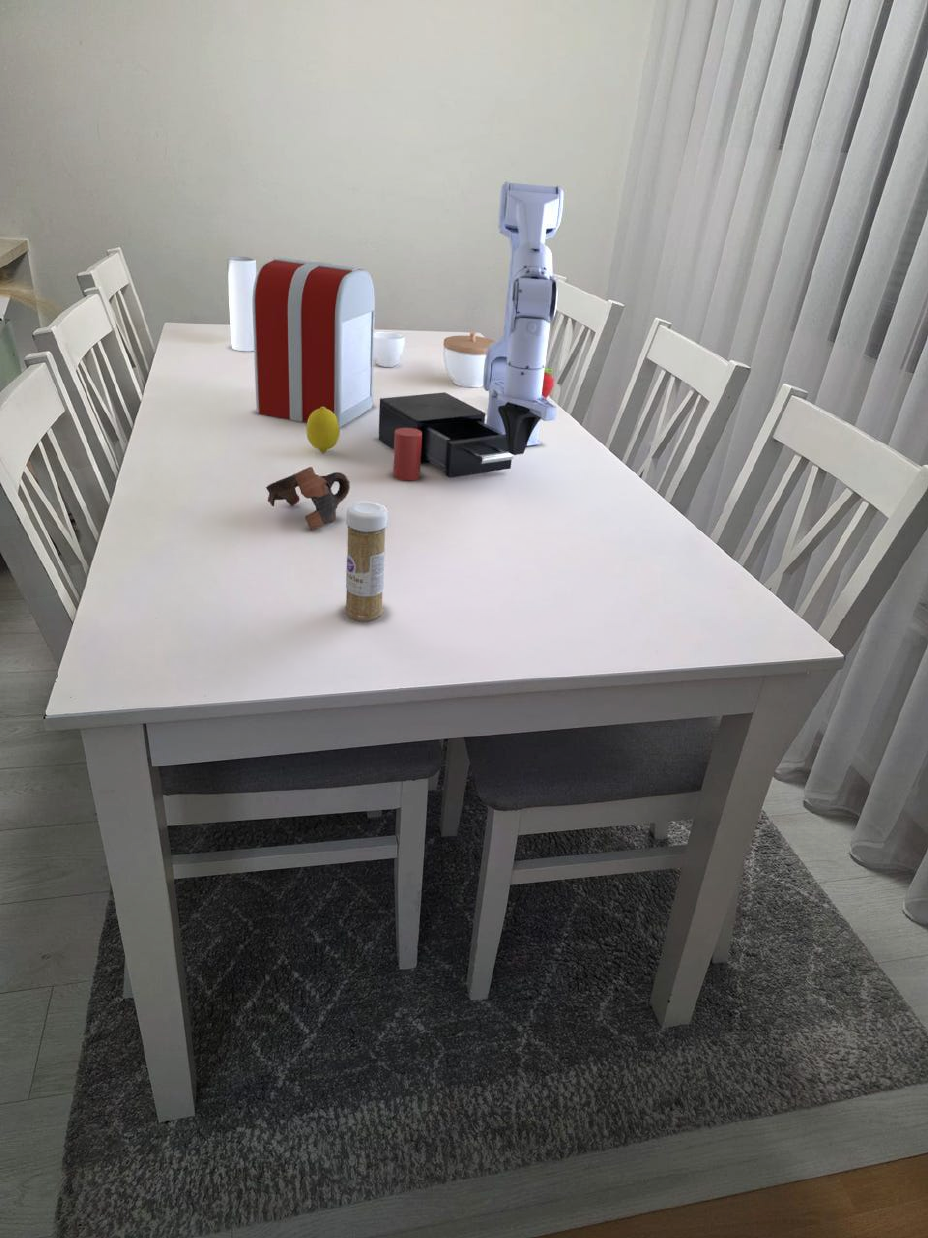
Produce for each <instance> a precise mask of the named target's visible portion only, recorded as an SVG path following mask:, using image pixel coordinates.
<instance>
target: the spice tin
mask: <svg viewBox="0 0 928 1238" xmlns="http://www.w3.org/2000/svg"><path fill="white" fill-rule="evenodd" d="M421 446H422V432H421V431H420V430H418V429H414V428H399V429H396V430H395V438H394V450H393V467H392V476H393V478H395V479H397V480H398V481H399V480H400V481H409V482H411V481H417V480H419V479H420V477H421V465H422V464H421Z"/></svg>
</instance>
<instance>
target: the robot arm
mask: <svg viewBox="0 0 928 1238" xmlns="http://www.w3.org/2000/svg"><path fill="white" fill-rule="evenodd" d="M563 208H564V190H563V188H562V187H561V185H556V186H554V185H553V186H552V185H540V184H528V183H527V184H526V183H517V182H509V181H507V180H506V181H504V183H503V184H501V187H500V193H499V208H498V223H497V224H498V225H497V227H498V230H499V231H498V232H499V234H501V235H503V236H504V237H507V238H508V241H509V245H510V259H509V268H508V271H509V272H508V279H507V288H506V289H507V291H506V301H505V311H504V322H503V331H502V336H501V337H500V338H499V337H498V339H496V340H495V342H493V343H492V344H490V345H489V346H488V348H487V350H486V358H485V363H484V374H483V386H482V388H483V389H484V390H485V391H486V392H488V403H487V414H486V415H487V416H486V424H487V425H489V426H490V427H492V428H494V429H496V430H498V431H500V432H502V435H504V434H506V439H507V446H508V452H509V453H510V454H512V455H513V456H517V455H523V454H524V453H525V451H526V448H527V446H535V445H536V446H537V445H540V441H539V440H538V439H539V430H540V422H541V421H544V422H550V421H555V420H556V417H557V411H558V410H557V409H558V407H557V406H556V405H554V404H552V403H551V402H550V401H549V400H548V399H547V398H545V397H544V396H543V395H542V387H543V378H544V370H545V369H546V361H547V352H548V345H549V336H550V329H551V328H550V327H551V323H553V321H554V318H555V315H556V311H557V306H558V305H557V303H558V281H557V278H556V276H555V275H553V255H552V251H551V249H550V248H549V246H547V245H546V244H545V243H546V240H548V239H552V238H553V237H554V236H555V234H556V233H557V230H558V228H559V227H560V224H561V220H562V216H563ZM549 319H550V320H549Z"/></svg>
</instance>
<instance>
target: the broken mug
mask: <svg viewBox="0 0 928 1238" xmlns="http://www.w3.org/2000/svg"><path fill="white" fill-rule="evenodd" d="M336 482H337V483H338V485H339V486H338V490H337V492H336V493H335V494H334V493H333V491H332V487H333V485H334V484H335V483H336ZM350 482H351V481H350V480H349V479H348V477H347V475H345V474H344V473H343V472H339V471H335V472H330V473H329V474H326V475H319V474H316V472H315V470H314V468H313V467H312V466H309V467H307V468H304V469H302V470H300V471H298V472H295V473H293V474H291V475H289V476H287V477H284V478H281V479H279V480H276V481H274V482H272V483H270V484H267V486H266V487H265V489H266V490H267V492H268V496H267V502H268V503H269V504H270V505H271V507H274V506H275V501H283V500H284V501H286V503H288V505H290V506H291V507H294V506H295V505H296V504H298V503H299V502H300V500H301V499H300V496H299V495H298V493H297V489H296V488H298V489H299V491H300V494H301V495H302V496H303V497H304V498H306V499H311V502H312V503H313V505H314V507H315V510H314V511H313V512H311V513H308V514H306V515H305V516H304V520H305V521H306V523H307V526H308V528H309V530H310V531H313V530H317V529H319V528H322V527H323V526H325V525H328V524H331V523H334V522H335V521H336V520H337V509H338V507H339V505H340V504H341V503H342V502H343V501H344V500H345V499H346V498H347V496H348V495H349V492H350V487H351V483H350Z"/></svg>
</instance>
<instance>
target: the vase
mask: <svg viewBox="0 0 928 1238" xmlns="http://www.w3.org/2000/svg"><path fill="white" fill-rule="evenodd" d="M226 265H227V267H226V268H227V285H228V303H229V304H228V305H229V321H230V323H229V324H230V338H231V339H230V340H231V341H230V342H231V349H232V350H234V351H237V352H254V335H253V310H252V297H253V287H254V282H255V278H256V274H257V272H258V271H257V259H256V258H254V257H250V256H249V257H248V256H228V257H227V258H226Z"/></svg>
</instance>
